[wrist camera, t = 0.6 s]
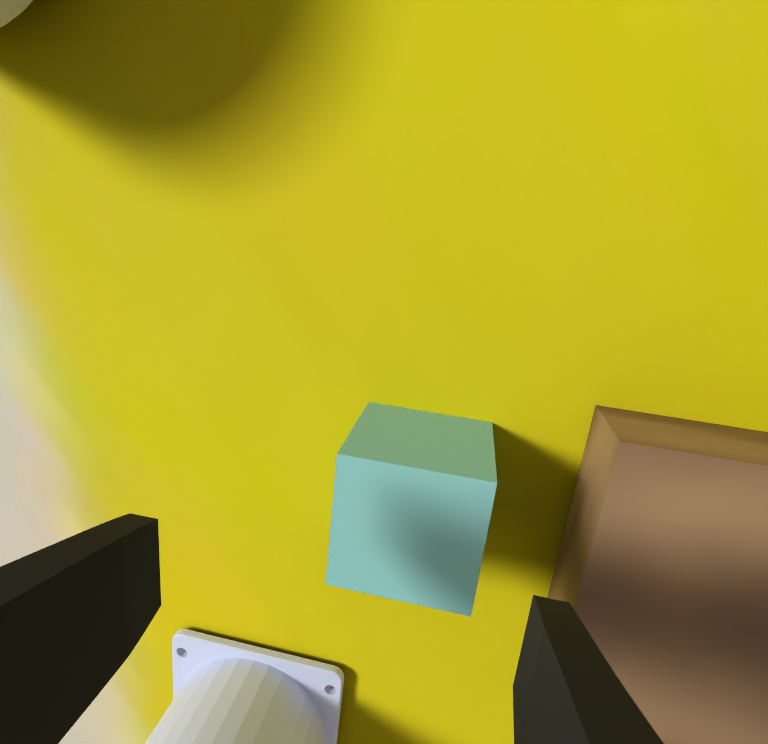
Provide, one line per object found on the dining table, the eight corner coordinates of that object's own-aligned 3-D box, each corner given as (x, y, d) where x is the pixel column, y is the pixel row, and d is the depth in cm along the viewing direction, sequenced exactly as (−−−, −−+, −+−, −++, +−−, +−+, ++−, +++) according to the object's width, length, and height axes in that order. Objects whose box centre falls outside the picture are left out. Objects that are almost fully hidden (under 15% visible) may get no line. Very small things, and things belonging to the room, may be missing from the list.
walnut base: (833, 728, 18) (898, 819, 16) (532, 659, 20) (541, 730, 17) (968, 463, 15) (1080, 517, 12) (596, 405, 17) (620, 441, 14)
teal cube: (472, 529, 19) (470, 616, 15) (358, 507, 20) (325, 584, 15) (492, 421, 18) (496, 483, 13) (369, 401, 18) (337, 453, 14)
